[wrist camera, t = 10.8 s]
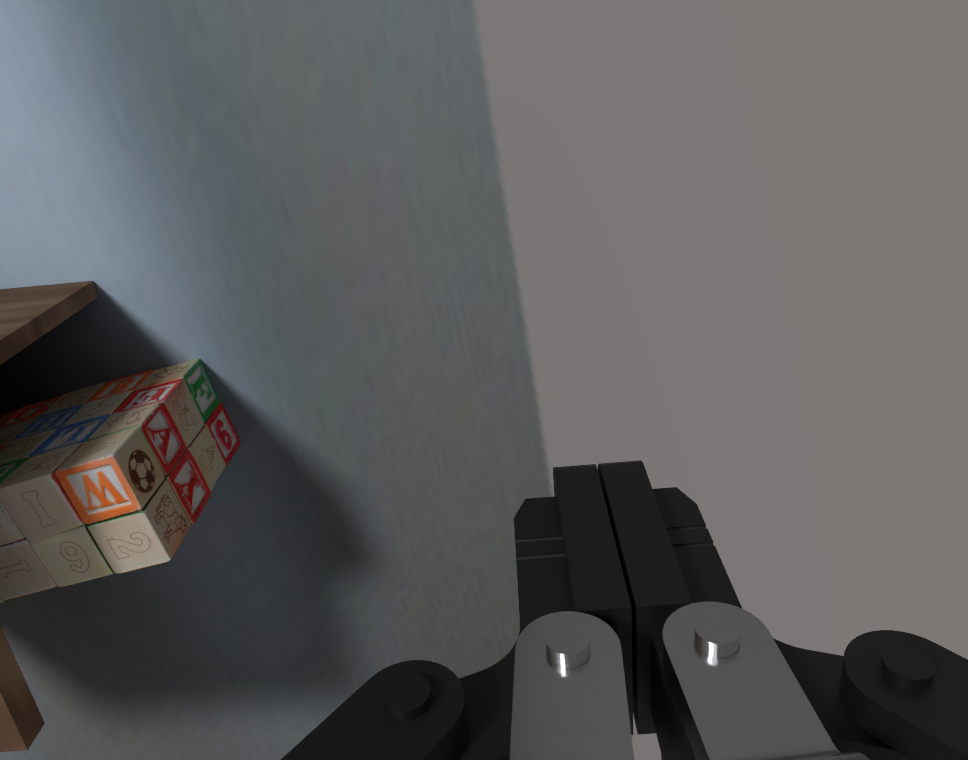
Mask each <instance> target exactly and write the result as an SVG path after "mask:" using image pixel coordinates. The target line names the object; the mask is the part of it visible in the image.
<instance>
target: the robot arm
mask: <svg viewBox="0 0 968 760" xmlns="http://www.w3.org/2000/svg"><path fill="white" fill-rule="evenodd" d="M553 479H554V496H555V497H544V498H531V499H525V500H524V502H523V504H522V505H521V507H520V509H519V510H518V512H517V514H516V516H515V517H514V526H515V542H516V543H515V544H516V559H517V578H518V595H519V612H520V632H519V636H518V639H517V641H516V643H515V645H514V647H513V648H512V649H511V651H510V652H509V653H508V654H507V655H506V656H505V657H504V658H503V659H502V660H500V661H499V662H498V663H496V664H494V665H493V666H491V667H489V668H487V669H485V670H482V671H480V672H477V673H474V674H471V675H468V676H466V677H463V678H460V679H458V677H457V676H456V675H455V674H454V673H453V672H452V671H451V670H450V669H448V668H447V667H445V666H443V665H441V664H438V663H435V662H431V661H424V660H411V661H405V662H400V663H397V664H394V665H391V666H389V667H387V668H385V669H383V670H381V671H380V672H378V673H376V674H375V675H374V676H373V677H371V678H370V679H369V680H368V681H367V682H366V683H365V684H364V685H362V686H361V687H360V688H359V689H358V690H357V691H356V692H355V693H354V694H353V695H351V696H350V697H349V698H348V699H347V700H346V701H345V702H344V703H343V704H342V705H340V706H339V707H338V708H337V709H336V710H335V711H334V712H333V713H332V714H331V715H329V716H328V717H327V718H326V719H325V720H324V721H323V722H322V723H321V724H320V725H318V726H317V727H316V728H315V729H314V730H313V731H312V732H311V733H310V734H309V735H307V736H306V737H305V738H304V739H303V740H302V741H301V742H300V743H299V744H298V745H296V746H295V747H294V748H293V749H292V750H291V751H290V752H289V753H288V754H287V755H285V756H284V757H283V758H282V759H281V760H634V755H633V746H632V737H631V735H633V714H634V719H635V723H636V728H637V732H638V734H650V733H657V738H658V742H659V746H660V750H661V760H968V660H967V659H965V658H963V657H961V656H959V655H957V654H955V653H953V652H951V651H949V650H947V649H946V648H944V647H941V646H940V645H938V644H936V643H934V642H931V641H929V640H927V639H925V638H922V637H919V636H917V635H914V634H910V633H905V632H900V631H892V630H887V631H886V630H881V631H872V632H868V633H864V634H862V635H860V636H858V637H856V638H855V639H853V640H852V641H851V642H850V643H849V645H848V646H847V648H846V650H845V653H844V656H840V655H834V654H828V653H822V652H817V651H811V650H806V649H801V648H797V647H793V646H791V645H787V644H785V643H782V642H780V641H778V640H776V639H774V638H773V637H772V636H771V634H770V632H769V631H768V629H767V628H766V626H765V625H764V624H763V623H762V622H761V621H760V620H759V619H758V618H757V617H755V616H754V615H752V614H751V613H749V612H747V611H746V610H744V609H742V607H741V605H740V603H739V600H738V598H737V596H736V593H735V591H734V589H733V586H732V584H731V582H730V579H729V577H728V575H727V573H726V570H725V568H724V566H723V564H722V561H721V559H720V557H719V554H718V552H717V550H716V547H715V546H713V540H712V538H711V536H710V534H709V531H708V529H706V525H705V522H704V520H703V518H702V515H701V513H700V511H699V509H698V506H697V504H696V503H695V502H693V501H692V500H691V499H690V498H689V497H687V496H686V495H685V494H684V493H683V492H681V491H680V490H679V489H678V488H677V487H674V488H662V489H652V487H651V484H650V481H649V478H648V476H647V473H646V470H645V467H644V464H643V462H642V461H629V462H616V463H603V464H598V470H597V467H596V465H595V464H592V465H579V466H566V467H554V468H553Z"/></svg>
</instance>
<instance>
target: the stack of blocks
mask: <svg viewBox="0 0 968 760" xmlns="http://www.w3.org/2000/svg"><path fill="white" fill-rule="evenodd" d="M239 445H240V440H239V438H238V436H237V434H236V432H235V430H234V428H233V426H232V424H231V421H230V419H229V417H228V415H227V413H226V411H225V409H224V407H223V405H222V403H221V402H220V400H219V398H218V396H217V394H216V392H215V390H214V387H213V385H212V383H211V381H210V379H209V377H208V375H207V372H206V370H205V368H204V366H203V364H202V361H201V360H200V359H194V360H191V361H187V362H183V363H180V364H176V365H172V366H168V367H165V368H161V369H157V370H148V371H145V372H141V373H137V374H134V375H130V376H127V377H123V378H119V379H115V380H112V381H109V382H104V383H101V384H96V385H92V386H89V387H85V388H82V389H78V390H75V391H71V392H68V393H65V394H63V395H62V396H61V397H56V398H53V399H49V400H47V401H42V402H38V403H35V404H31V405H28V406H24V407H22V408H20V409H17V410H13V411H9V412H5V413H2V414H0V603H2V602H4V601H5V600H9V599H14V598H18V597H22V596H25V595H29V594H32V593H36V592H41V591H45V590H48V589H51V588H54V587H56V586H58V587H64V586H68V585H72V584H77V583H81V582H85V581H89V580H92V579H96V578H100V577H104V576H108V575H111V574H113V573H114V572H115V573H119V574H120V573H124V572H128V571H132V570H136V569H141V568H145V567H149V566H153V565H157V564H161V563H165V562H168V561H170V560H171V559H172V557H173V556H174V554H175V553H176V551H177V549H178V547H179V546H180V544H181V542H182V540H183V539H184V537H185V535H186V533H187V532H188V530H189V528H190V525H192V524H194V523H195V522H196V520H197V518H198V517H199V515H200V513H201V511H202V510H203V508H204V506H205V505H206V503H207V501H208V499H209V497H210V495H211V492H212V490H213V489H214V487H215V485H216V483H217V481H218V479H219V478H220V476H221V474H222V473H223V471H224V469H225V467H227V465H228V464H229V462H230V460H231V458H232V457H233V455H234V453H235V451H236V450H237V448H238V447H239Z"/></svg>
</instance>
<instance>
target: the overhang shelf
mask: <svg viewBox="0 0 968 760" xmlns="http://www.w3.org/2000/svg"><path fill="white" fill-rule="evenodd" d="M97 298H98V295H97V292H96V289H95V286H94V283H93V281H87V282H77V283H66V284H55V285H44V286H33V287H22V288H11V289H1V290H0V365H1V364H2V363H4V362H5V361H7V360H8V359H10V358H11V357H12V356H14V355H15V354H17V353H18V352H20V351H21V350H23V349H24V348H26V347H27V346H28V345H30V344H31V343H33V342H34V341H36V340H37V339H39V338H40V337H42V336H43V335H44V334H46V333H47V332H49V331H50V330H52V329H53V328H55V327H56V326H58V325H59V324H60V323H62V322H63V321H65V320H66V319H68V318H69V317H71V316H72V315H73V314H75V313H76V312H78V311H79V310H81V309H82V308H84V307H85V306H87V305H88V304H89V303H91V302H92V301H94V300H95V299H97ZM44 724H45V723H44V721H43V718H42V716H41V714H40V712H39V710H38V707H37V705H36V703H35V701H34V699H33V696H32V694H31V692H30V690H29V688H28V685H27V683H26V681H25V679H24V677H23V674H22V672H21V670H20V668H19V665H18V663H17V661H16V659H15V657H14V654H13V652H12V650H11V648H10V646H9V643H8V641H7V639H6V637H5V635H4V632H3V630H2V628H1V626H0V752H6V751H21V750H28V749H29V747H30V745H31V744H32V742H33V741H34V739H35V738H36V736H37V735H38V733H39V731H40V730H41V728H42V727H43V725H44Z"/></svg>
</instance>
